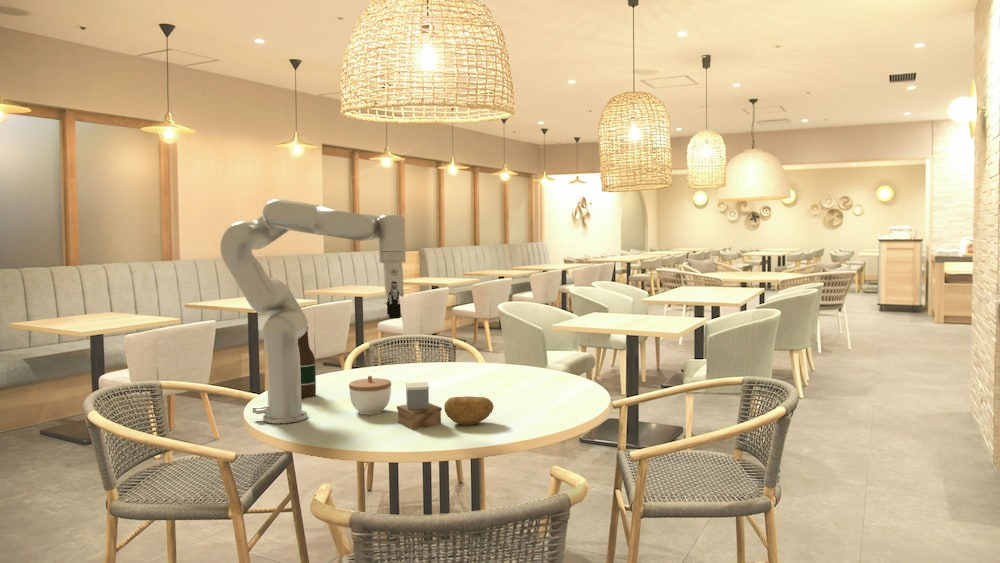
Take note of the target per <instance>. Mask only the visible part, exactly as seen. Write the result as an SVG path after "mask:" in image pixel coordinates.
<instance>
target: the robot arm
mask: <svg viewBox="0 0 1000 563" xmlns="http://www.w3.org/2000/svg"><path fill="white" fill-rule="evenodd" d="M405 222H406V221H405V217H404V216H403V215H401V214H383V215H375V214H373V215H372V214H366V213H356V212H348V211H342V210H337V209H332V208H331V209H330V208H328V207H326V206H324V205H320V204H314V203H313V204H312V203H306V202H301V201H295V200H289V199H281V198H276V199H275V198H274V199H272V200H269V201H268V202H266V203H265V205H264V206H263V209H262V215H260V216H259V217H258V218H256V219H255V220H253V221H252V220H251V221H250V220H242V221H237V222H235V223H232V224H231V225H229V226H228V228H226V230H225V231H224V233H223V235H222V237H221V240H220V255H221V257H222V260H223V262H224V264H225V266H226V268H227V269H228V271H229V272H230V274H231V276H232V277H233V278H234V281H235V283H236V285H237V286H238V288H239V289H240V291H241V292H242V294H243V296H244V298H245V299H246V301H247V303H248V304H249V306H250V307H251V309H253V310H254V311H255V312H257V313H260V314H261V313H262V314H264V313H267V314H268V316H269V318H267V319H266V321H265V322H264V324H263V329H262V337H263V341H264V342H263V343H264V348H265V357H266V360H265V361H266V362H265V363H266V380H267V403H266V404H264V405H263V406H258V405H257V406H255V405H254V406H252V414H256V415H261V414H264V415H263V416H262V420H263V422H265V423H268V424H275V423H276V424H278V425H279V424H280V423H281V424H291V422H292V423H297V422H301V421H303V420H306V419H307V417H308V412H307V411H305V410H303V408H302V406H303V405H302V404H303V403H302V398H301V370H300V353H299V347H298V339H299V338H300V337H302V336H303V335H304V334H305V332H306V330H308V329H307V327H308V328H309V326H308V319H307V317H306V314H305V312H304V311H303V310H302V307H301V305H300V304H299V303H298V300H296V297H295V295H294V294H293V293H292V291H291V289H290V288H289V287H288V286H287V284H286V283H285V282H283V281H282V280H280V279H277V278H270V277H269V275H268V274H267V272H266V271H265V269H264V268H263V266H262V264H261V262H260V261H259V260H258V259H257V258H256V257H255V255H254V254H253V252H252V251H253V250H260V249H263V248H266V247H268V246H269V245H270V244H272V243H273V242H276V240H278V239H279V238H281V237H282V236H283V235H285V234H287V233H288V232H289V231H293V232H300V233H305V234H312V235H317V236H328V237H333V238H339V239H346V240H352V241H357V242H358V241H359V242H362V241H363V242H364V241H373V240H378V250H379V251H378V253H379V254H378V255H379V256H378V257H379V261H378V262H379V264H383V280H384V281H383V282H384V291H385V292H384V293H385V296H386V297H387V301H386V313H387V315H388V318H389V319H390V320H391V319H401V316H402V315H401V304H400V303H401V302H400V297H401V298H403V297H404V296H405V292H404V291H405V290H404V289H405V288H404V274H403V273H404V269H403V263H406V223H405Z"/></svg>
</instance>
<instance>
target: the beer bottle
mask: <svg viewBox="0 0 1000 563" xmlns="http://www.w3.org/2000/svg"><path fill="white" fill-rule="evenodd" d="M308 329H309V326H308V327H307V330H306V332H305V334H304V335H303V336H302V337H300V338H299V339H297V342H298V347H299V353H300V370H301V399H310V397H311V398H313V396H314V397H316V394H317V385H316V382H317V380H316V357H315V355H314V353H313V351H312V350H311V348H310V343H309V332H308Z"/></svg>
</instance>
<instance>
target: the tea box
mask: <svg viewBox="0 0 1000 563" xmlns="http://www.w3.org/2000/svg"><path fill="white" fill-rule="evenodd" d="M396 409H397V424H400V425H401V426H404V427H406V428H408V429H409V430H412V431H414V430H419V429H425V428H426V429H427V428H430V427H437V426H442V414H441V413H442V412H441V411H442V410H443V408H442V407H441V406H438V405H436V404H433V403H430V402H429V409H413V410H407V404H402V405H397V406H396Z"/></svg>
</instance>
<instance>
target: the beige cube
mask: <svg viewBox="0 0 1000 563" xmlns="http://www.w3.org/2000/svg"><path fill="white" fill-rule="evenodd" d="M405 390H406V392H405V393H406V394H405V395H406V396H405V397H406V401H405V402H406V405H407V410H413V409H429V403H430V398H429V396H430V395H429V392H430V391H429V390H430V386H429V383H428V382H427V381H425V382H406V383H405Z"/></svg>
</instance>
